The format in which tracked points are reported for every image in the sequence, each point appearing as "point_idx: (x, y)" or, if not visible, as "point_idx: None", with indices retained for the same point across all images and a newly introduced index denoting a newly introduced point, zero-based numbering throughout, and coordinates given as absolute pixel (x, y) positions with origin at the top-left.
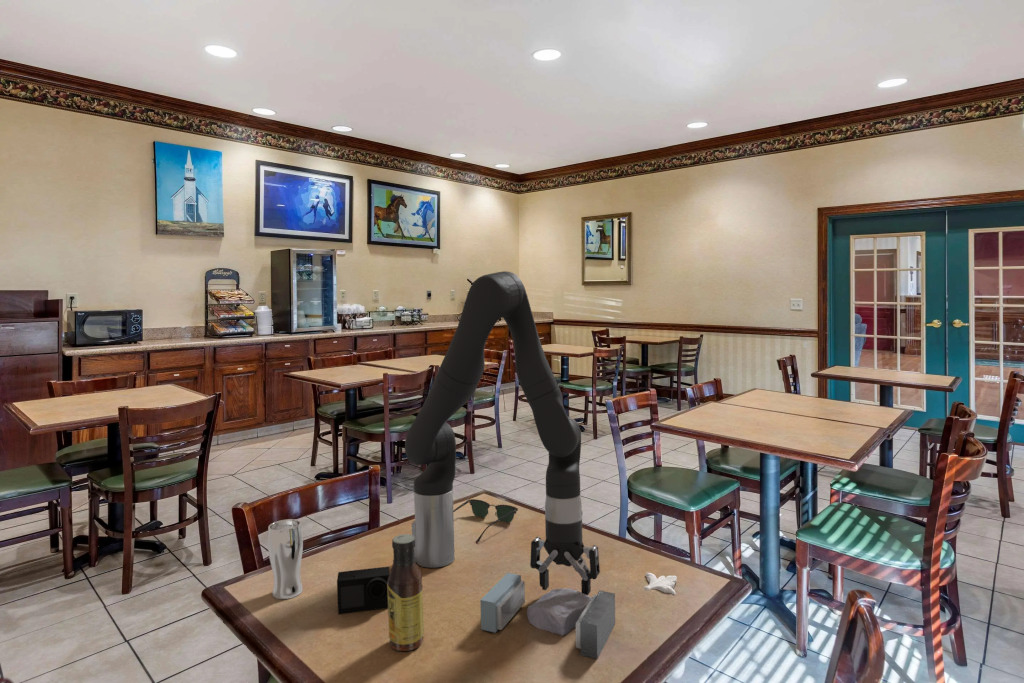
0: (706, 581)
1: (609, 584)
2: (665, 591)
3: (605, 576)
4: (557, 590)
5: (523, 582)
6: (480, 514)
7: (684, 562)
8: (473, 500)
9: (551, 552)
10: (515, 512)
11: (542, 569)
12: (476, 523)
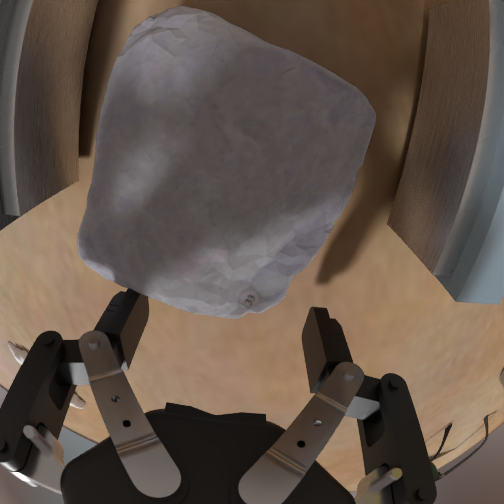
0: (8, 378)
1: (131, 379)
2: (22, 351)
3: (157, 405)
4: (253, 300)
5: (437, 261)
6: None
7: (62, 425)
8: (436, 479)
9: (296, 485)
10: None
11: (343, 377)
12: (434, 453)
